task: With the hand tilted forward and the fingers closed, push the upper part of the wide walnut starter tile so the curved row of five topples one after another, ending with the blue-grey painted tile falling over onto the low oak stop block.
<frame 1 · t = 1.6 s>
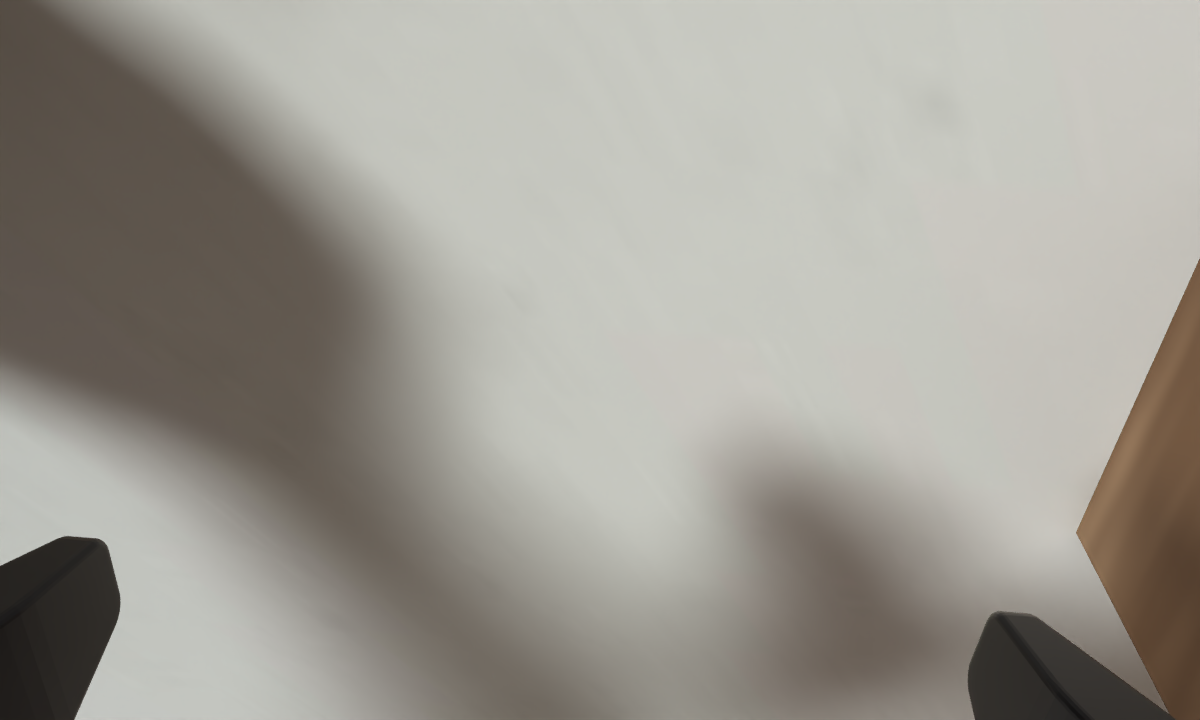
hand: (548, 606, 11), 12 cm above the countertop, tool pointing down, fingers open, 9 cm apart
domino 1: (1182, 377, 23), on the countertop
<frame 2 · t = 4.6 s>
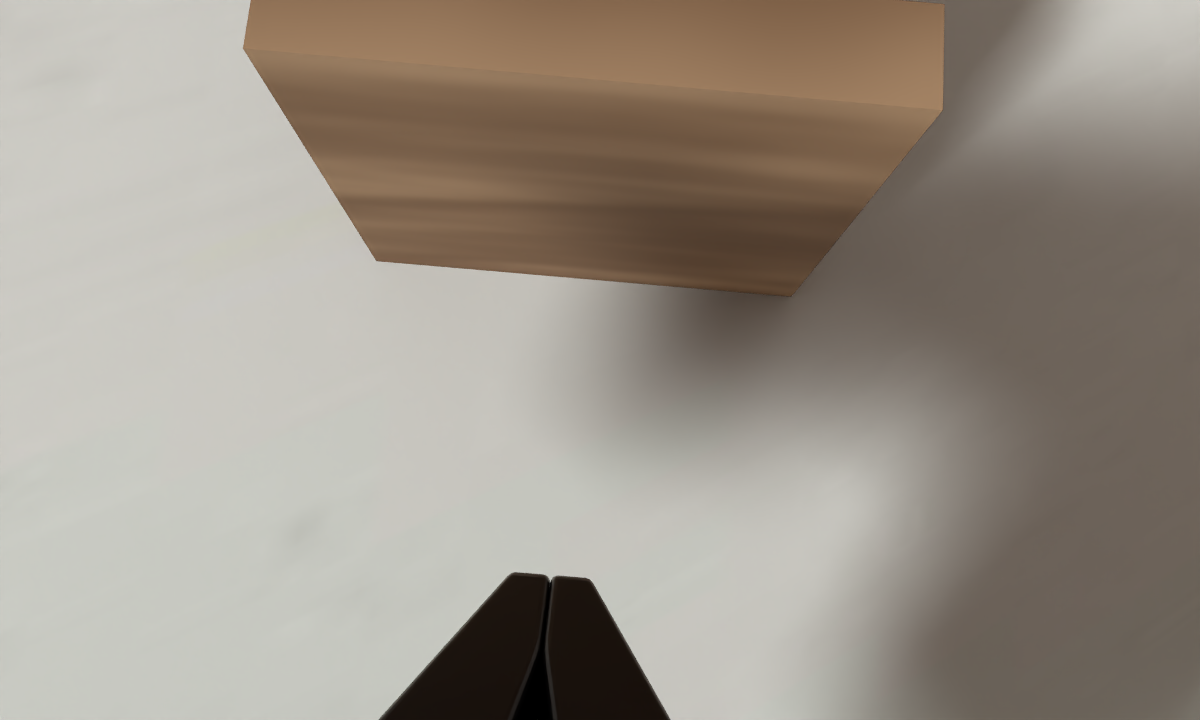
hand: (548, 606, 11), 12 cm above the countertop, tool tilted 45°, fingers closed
domino 1: (587, 245, 24), on the countertop
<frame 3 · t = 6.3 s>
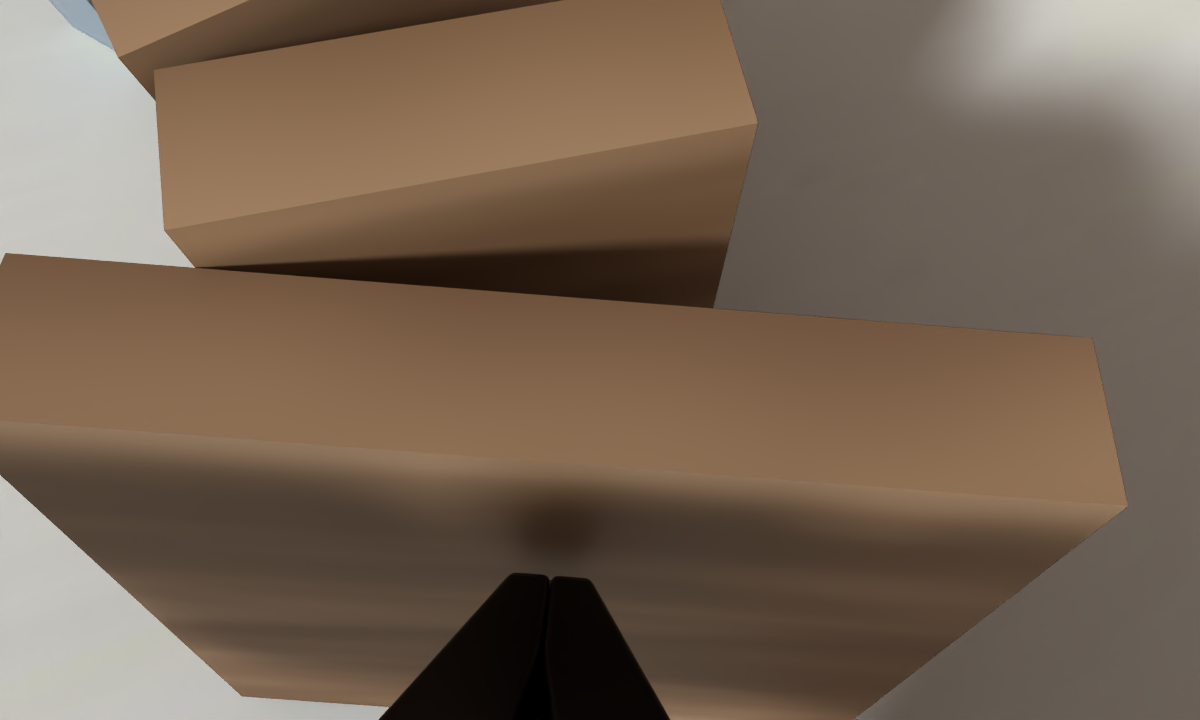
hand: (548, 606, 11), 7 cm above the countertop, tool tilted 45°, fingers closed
domino 3: (459, 230, 19), on the countertop
domino 1: (541, 667, 17), on the countertop, tilted 18°
domino 2: (529, 433, 18), on the countertop, tilted 9°
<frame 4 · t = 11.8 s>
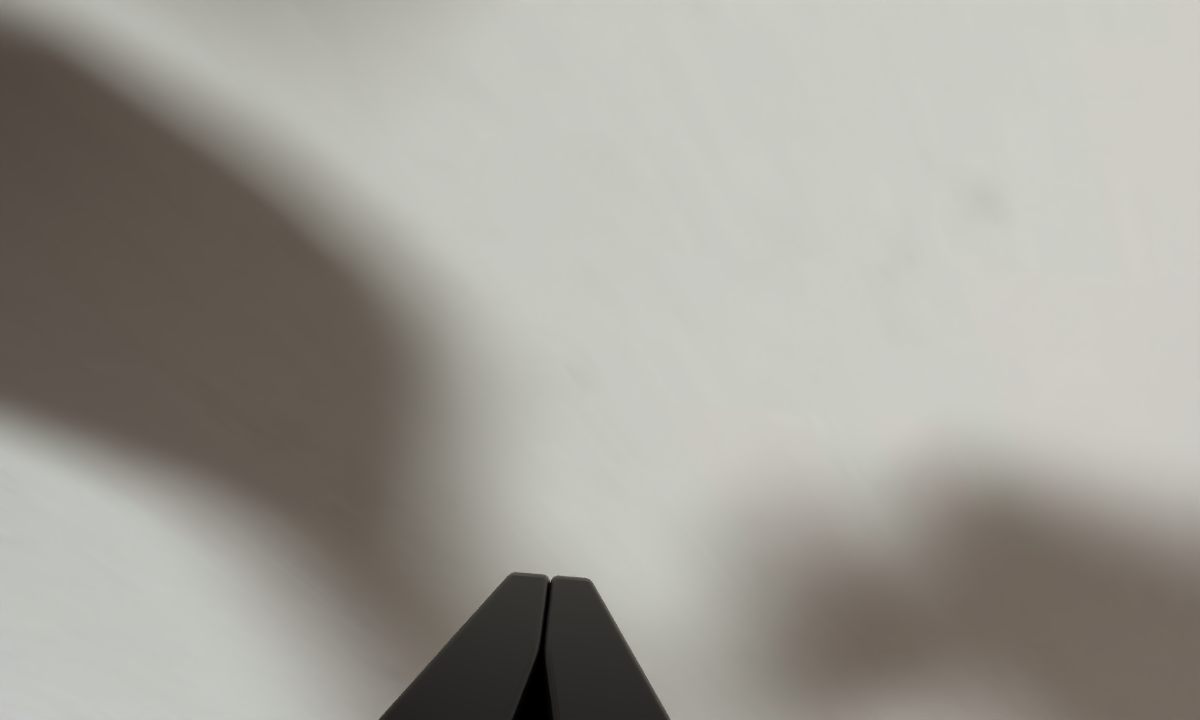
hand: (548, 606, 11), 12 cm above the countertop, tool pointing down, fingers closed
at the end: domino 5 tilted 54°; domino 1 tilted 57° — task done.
